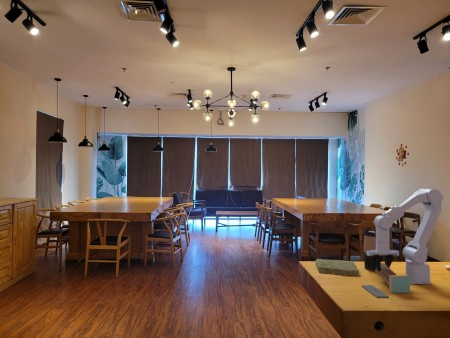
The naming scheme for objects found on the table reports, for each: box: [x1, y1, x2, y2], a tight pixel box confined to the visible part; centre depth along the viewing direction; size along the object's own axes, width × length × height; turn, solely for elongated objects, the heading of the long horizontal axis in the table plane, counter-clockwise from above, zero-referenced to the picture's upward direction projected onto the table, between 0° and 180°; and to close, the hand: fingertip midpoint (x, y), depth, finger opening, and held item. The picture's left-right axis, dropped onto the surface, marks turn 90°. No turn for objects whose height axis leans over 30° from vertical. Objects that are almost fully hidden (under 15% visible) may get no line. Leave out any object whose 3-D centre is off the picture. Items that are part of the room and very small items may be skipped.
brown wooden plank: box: [374, 262, 397, 286], centre depth 148 cm, size 4×12×4 cm, turn 3°
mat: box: [361, 284, 389, 299], centre depth 138 cm, size 5×13×1 cm, turn 3°
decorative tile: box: [315, 258, 360, 277], centre depth 169 cm, size 19×20×4 cm
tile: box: [388, 274, 411, 294], centre depth 137 cm, size 8×2×7 cm, turn 93°
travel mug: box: [363, 229, 381, 272], centre depth 171 cm, size 8×8×20 cm
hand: (382, 270), depth 151 cm, fingers closed on brown wooden plank, 3 cm apart
